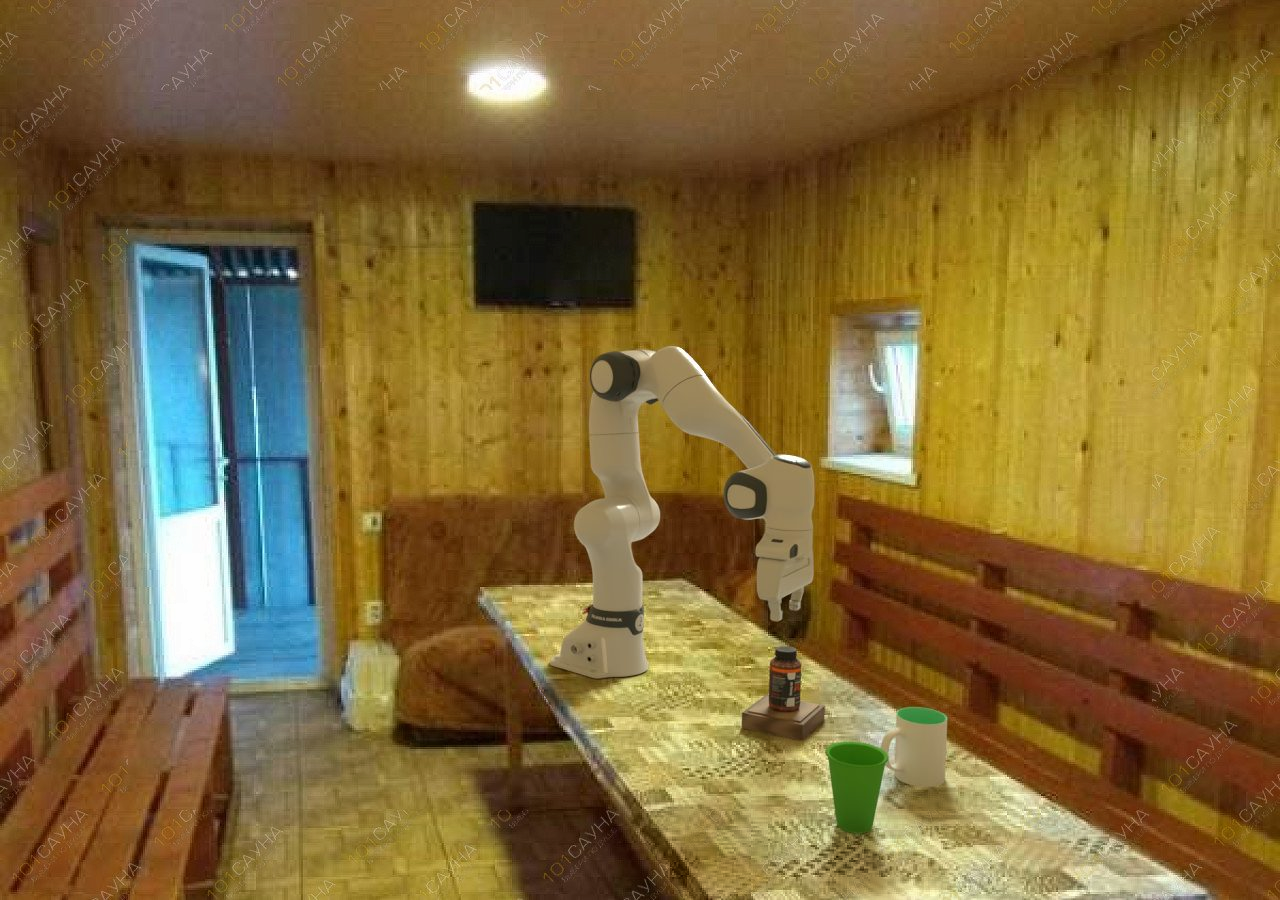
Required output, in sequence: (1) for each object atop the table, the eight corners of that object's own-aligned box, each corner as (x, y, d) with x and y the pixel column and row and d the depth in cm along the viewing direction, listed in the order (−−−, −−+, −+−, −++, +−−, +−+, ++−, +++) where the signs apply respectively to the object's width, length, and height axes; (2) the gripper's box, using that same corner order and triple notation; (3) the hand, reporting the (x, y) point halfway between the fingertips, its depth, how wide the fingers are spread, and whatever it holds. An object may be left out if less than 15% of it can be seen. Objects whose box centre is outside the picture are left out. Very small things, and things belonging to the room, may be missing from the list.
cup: (816, 812, 144) (818, 741, 143) (874, 810, 145) (876, 740, 144) (832, 841, 135) (835, 766, 134) (895, 839, 136) (897, 765, 135)
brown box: (741, 728, 178) (742, 711, 178) (766, 709, 189) (766, 692, 189) (802, 741, 172) (802, 723, 172) (824, 720, 183) (824, 704, 183)
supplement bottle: (800, 713, 177) (801, 654, 176) (767, 711, 178) (769, 652, 177) (800, 703, 183) (802, 645, 182) (769, 700, 184) (770, 643, 183)
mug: (902, 796, 150) (904, 731, 150) (866, 777, 157) (868, 715, 157) (955, 780, 156) (958, 719, 156) (918, 763, 163) (921, 704, 162)
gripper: (792, 532, 188) (789, 601, 190) (751, 548, 171) (748, 624, 172) (823, 536, 185) (820, 606, 186) (784, 552, 168) (781, 629, 169)
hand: (785, 614), depth 179 cm, fingers open, 8 cm apart
